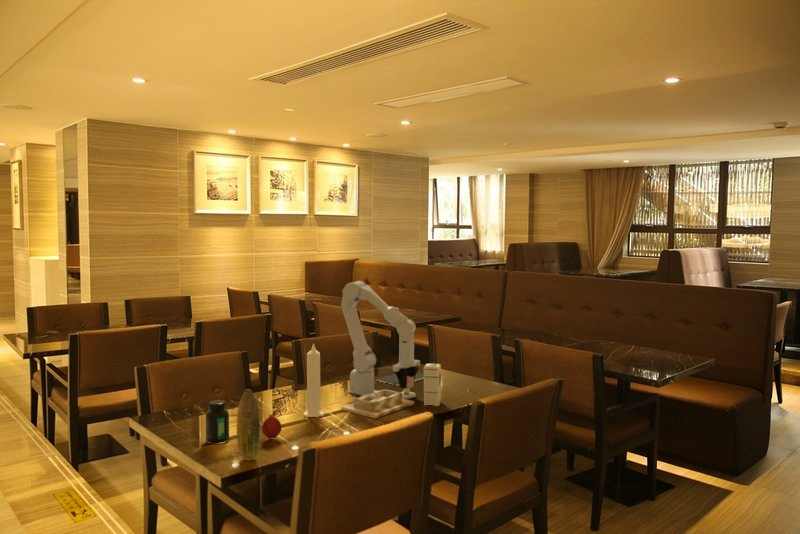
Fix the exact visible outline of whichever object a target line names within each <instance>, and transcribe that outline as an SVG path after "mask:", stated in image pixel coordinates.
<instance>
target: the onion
mask: <svg viewBox="0 0 800 534" xmlns="http://www.w3.org/2000/svg"><path fill="white" fill-rule="evenodd" d="M281 431H282V424H281V421H280V420H279V419H278V418H277V417H276V416H275V415H274V414H272V413H271V414H269V415H268V417H267V418H265V420H264V421H263V423H262V426H261V433H262V434H263V435H264V436H265V437H266V438H268V439H269V438H274V439H276V438H277V437H278V436H279V435H280V434H281Z"/></svg>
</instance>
